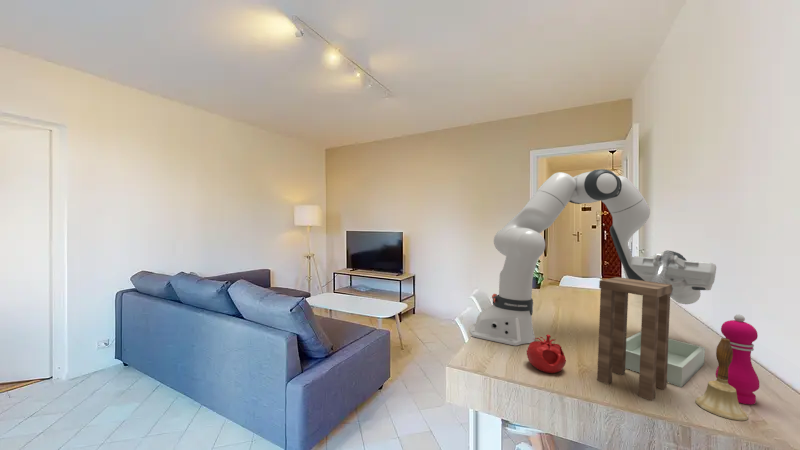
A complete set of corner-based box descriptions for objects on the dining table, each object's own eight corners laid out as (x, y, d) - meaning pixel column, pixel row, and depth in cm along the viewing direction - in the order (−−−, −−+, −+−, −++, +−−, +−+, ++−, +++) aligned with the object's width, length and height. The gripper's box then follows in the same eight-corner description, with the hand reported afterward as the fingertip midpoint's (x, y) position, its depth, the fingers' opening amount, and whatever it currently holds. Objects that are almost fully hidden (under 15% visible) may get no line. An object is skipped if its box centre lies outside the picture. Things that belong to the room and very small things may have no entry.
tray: (640, 346, 108) (640, 331, 108) (704, 363, 95) (704, 347, 95) (610, 363, 93) (610, 346, 93) (681, 387, 80) (682, 367, 80)
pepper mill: (738, 390, 79) (741, 311, 79) (768, 407, 72) (772, 320, 72) (706, 388, 80) (709, 309, 80) (733, 404, 73) (737, 318, 72)
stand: (614, 368, 89) (617, 277, 89) (668, 387, 80) (672, 284, 80) (595, 379, 82) (599, 280, 82) (652, 401, 73) (657, 289, 72)
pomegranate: (518, 363, 91) (520, 331, 91) (543, 358, 95) (545, 327, 95) (547, 379, 82) (549, 343, 82) (574, 373, 86) (575, 339, 86)
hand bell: (740, 407, 72) (743, 337, 72) (754, 426, 65) (758, 348, 65) (691, 395, 76) (694, 329, 76) (699, 411, 69) (702, 339, 69)
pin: (653, 255, 101) (651, 249, 100) (686, 257, 94) (685, 251, 93) (636, 291, 93) (634, 285, 92) (671, 297, 86) (670, 291, 85)
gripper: (639, 263, 112) (627, 245, 104) (720, 272, 95) (713, 250, 88) (635, 280, 110) (623, 262, 103) (718, 291, 93) (709, 270, 86)
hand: (665, 256), depth 95 cm, fingers closed on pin, 2 cm apart
